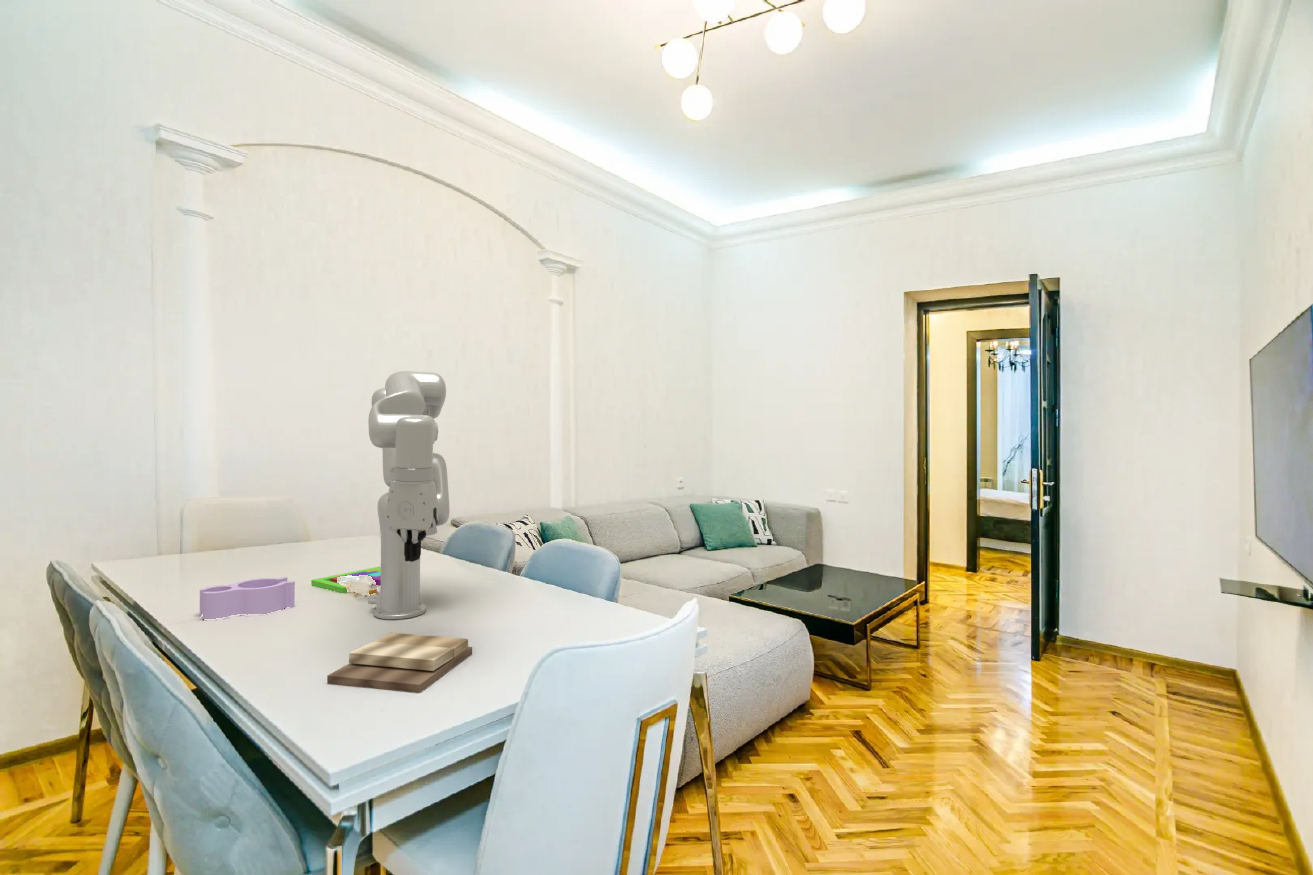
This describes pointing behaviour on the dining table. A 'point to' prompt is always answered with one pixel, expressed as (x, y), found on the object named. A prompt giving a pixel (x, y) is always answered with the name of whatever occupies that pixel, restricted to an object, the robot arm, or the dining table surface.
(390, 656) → the hinged plank
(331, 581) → the toy blocks
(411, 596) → the robot arm
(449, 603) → the dining table surface
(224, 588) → the lilac rounded hollowed piece
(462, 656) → the floor board
